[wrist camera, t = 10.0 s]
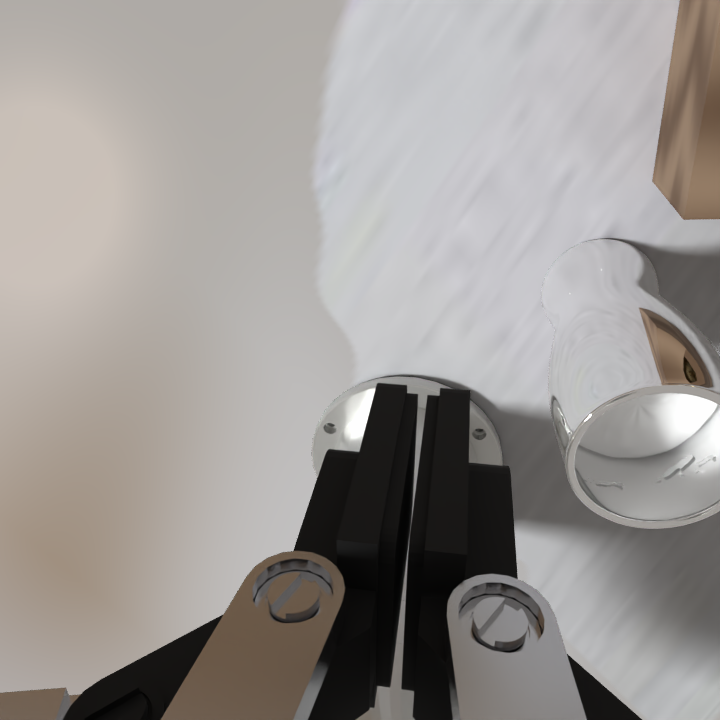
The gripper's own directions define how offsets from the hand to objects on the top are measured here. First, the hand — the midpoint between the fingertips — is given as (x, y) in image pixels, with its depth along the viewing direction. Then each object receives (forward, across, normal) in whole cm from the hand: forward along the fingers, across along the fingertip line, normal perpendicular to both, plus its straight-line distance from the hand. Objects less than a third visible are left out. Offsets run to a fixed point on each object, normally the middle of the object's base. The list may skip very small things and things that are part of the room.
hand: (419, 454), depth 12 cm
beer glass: (+26, -8, +7) cm, 28 cm away
